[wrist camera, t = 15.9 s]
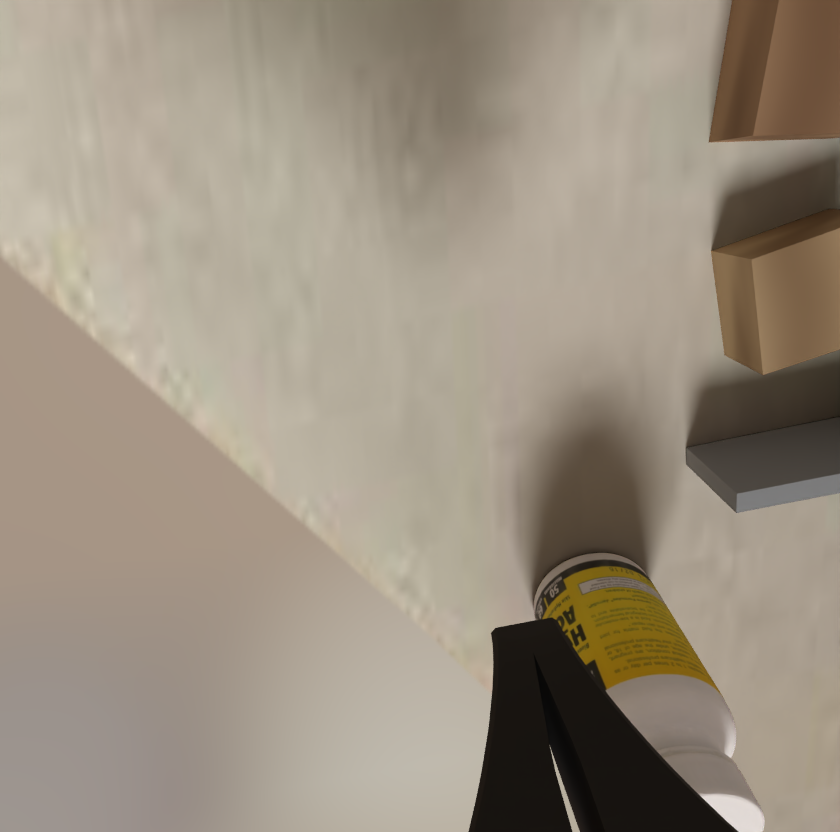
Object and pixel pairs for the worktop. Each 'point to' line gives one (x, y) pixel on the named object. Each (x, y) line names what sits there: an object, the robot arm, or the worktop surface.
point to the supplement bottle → (651, 674)
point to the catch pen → (771, 465)
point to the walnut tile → (779, 72)
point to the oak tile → (781, 293)
